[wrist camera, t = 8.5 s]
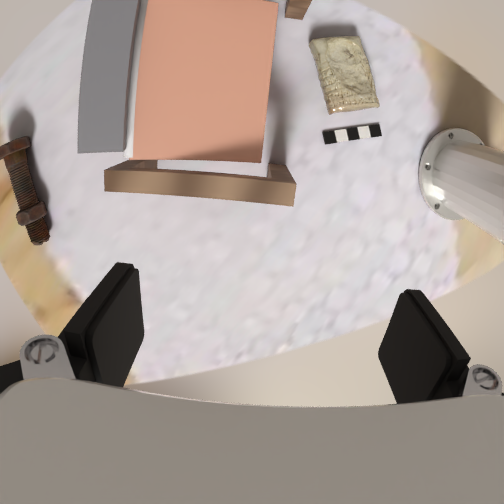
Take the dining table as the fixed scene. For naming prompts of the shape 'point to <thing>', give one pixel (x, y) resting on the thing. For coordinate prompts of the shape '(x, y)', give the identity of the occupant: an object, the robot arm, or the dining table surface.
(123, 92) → the trapdoor
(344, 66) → the cuneiform tablet
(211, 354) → the dining table surface
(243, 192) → the frame
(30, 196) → the bolt
